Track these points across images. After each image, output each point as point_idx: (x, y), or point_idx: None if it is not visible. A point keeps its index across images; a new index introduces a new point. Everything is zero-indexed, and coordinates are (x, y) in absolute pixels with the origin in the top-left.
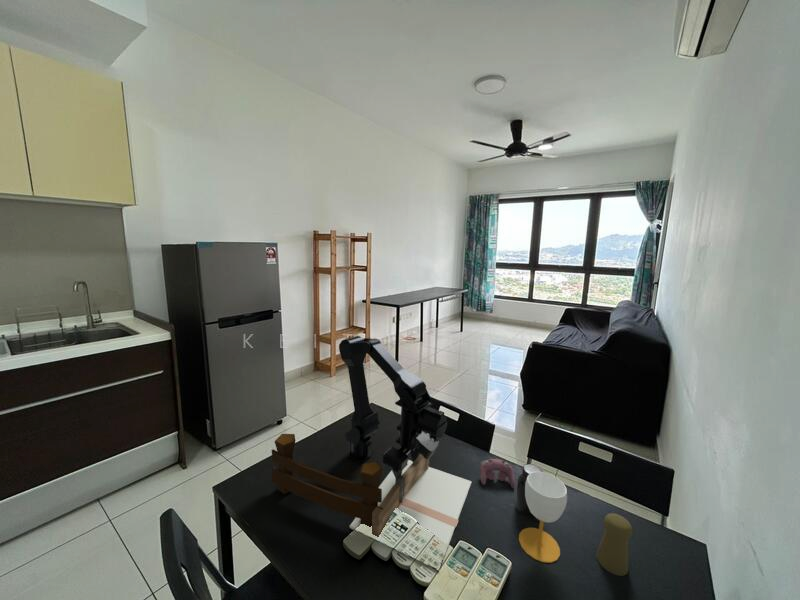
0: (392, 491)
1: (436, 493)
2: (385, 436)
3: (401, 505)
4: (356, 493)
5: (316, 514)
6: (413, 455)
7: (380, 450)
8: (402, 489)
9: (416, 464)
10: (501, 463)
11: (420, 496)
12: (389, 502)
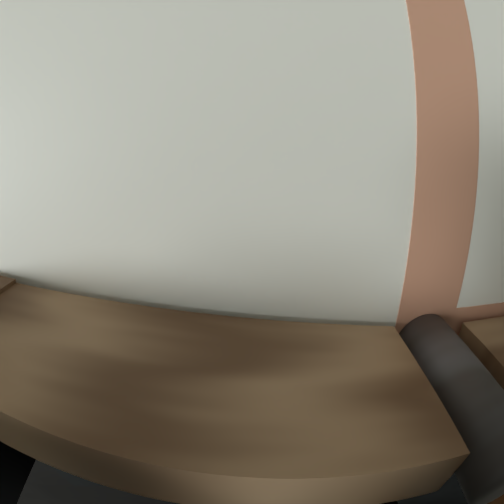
0: None
1: (204, 68)
2: (31, 480)
3: (462, 299)
4: None
5: None
6: (17, 456)
7: (97, 494)
8: (488, 379)
9: (97, 456)
10: None
11: (324, 198)
12: None
